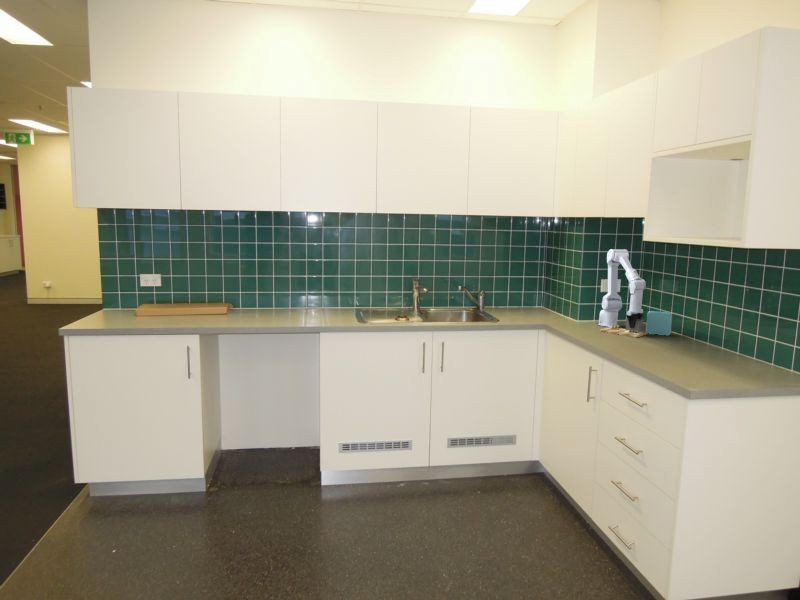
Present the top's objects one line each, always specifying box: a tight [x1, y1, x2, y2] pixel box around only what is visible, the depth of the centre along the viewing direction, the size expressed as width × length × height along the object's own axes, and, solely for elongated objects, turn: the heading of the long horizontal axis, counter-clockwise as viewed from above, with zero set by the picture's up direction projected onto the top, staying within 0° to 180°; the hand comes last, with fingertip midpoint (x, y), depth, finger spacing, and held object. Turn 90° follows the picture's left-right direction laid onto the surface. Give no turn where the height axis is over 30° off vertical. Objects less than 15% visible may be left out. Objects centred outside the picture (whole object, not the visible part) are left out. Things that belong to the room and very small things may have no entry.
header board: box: [599, 324, 648, 338], centre depth 293 cm, size 20×13×3 cm, turn 42°
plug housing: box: [625, 318, 644, 332], centre depth 290 cm, size 7×4×6 cm, turn 42°
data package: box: [645, 310, 673, 337], centre depth 292 cm, size 12×4×12 cm, turn 66°
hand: (633, 327), depth 290 cm, fingers closed on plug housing, 4 cm apart
